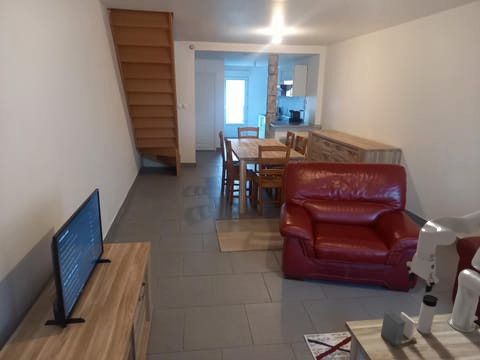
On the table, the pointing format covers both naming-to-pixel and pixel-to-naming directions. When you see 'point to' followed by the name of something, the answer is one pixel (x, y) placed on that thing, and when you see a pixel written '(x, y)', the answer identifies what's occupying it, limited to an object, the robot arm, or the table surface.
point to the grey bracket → (394, 330)
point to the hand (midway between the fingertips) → (419, 286)
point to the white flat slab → (408, 326)
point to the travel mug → (426, 314)
